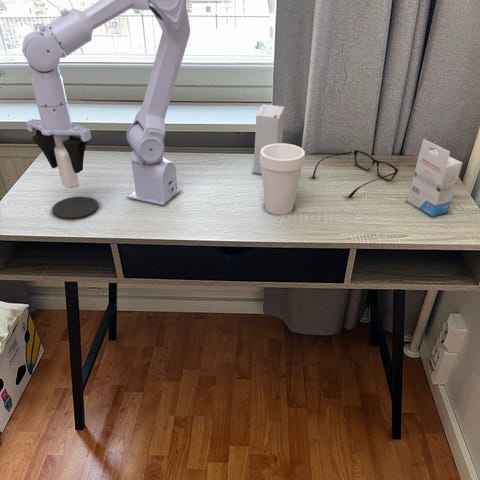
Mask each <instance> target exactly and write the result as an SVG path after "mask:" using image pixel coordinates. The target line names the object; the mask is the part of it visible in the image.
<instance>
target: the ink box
mask: <svg viewBox="0 0 480 480" xmlns="http://www.w3.org/2000/svg"><path fill="white" fill-rule="evenodd" d="M417 156H418V157H417V160H416V165H415V169H414V173H413V178H412V182H411V185H410V191H409V194H408V199H407V202H408V203H410V204H411V205H412V206H414V207H415V208H418V209H419V210H420V211H422V212H424V213H425V214H427V215H428V216H430V217H436V216H441V215H443V214H446V213H449V211H450V208H451V203H452V200H453V198H454V197H453V196H454V193H455V190H456V186H457V182H458V181H459V180H458V179H459V177H460V173H461V169H462V166H463V161H460V160H458V159H456V158H454V157H453V156H451V151H450V150H448V149H445V148H444V147H442V146H440V145H438V144H435V143H433V142H431V141H429V140H427V139H426V138H424V139H423V140H422V142H421V146H420V150H419V153H418V155H417Z"/></svg>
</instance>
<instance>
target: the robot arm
mask: <svg viewBox="0 0 480 480" xmlns="http://www.w3.org/2000/svg"><path fill="white" fill-rule="evenodd" d="M187 2H188V0H98V1H96V2H95V3H93V4H91V5H90V6H89V7H88V8H86V9H85V10H79V9H77V8H71V9H69V10H68V9H67V8H65V7H64V8H63V9H62V10H60V11H59V13H60V16H59V17H57V18H55V19H54V20H52V21H51V22H49V23H48V24H46V25H44V24H43V23H42V24H40V25H38V29H39V31H31V32H29V33H27V34H26V35H25V36H24V38H23V41H22V49H21V51H22V53H23V56H24V57H25V59H26V61H27V63H28V72H29V75H30V76H31V77H30V81H31V86H32V90H33V94H34V97H35V102H36V106H37V111H38V114H39V117H40V119H36V118H35V119H34V118H31V119H29V120H27V121H26V122H25V124H26V128H27V131H28V132H30V133H33V132H35V135H33V136H32V141H33V142H34V143H35V144H36V145H37V146H38V148H39V149H40V150H41V151H42V153H43V155H44V156H45V158H46V160H47V162H48V163H49V165H50V168H51V169H56V168H58V165H57V161H56V157H55V152H54V148H55V146H56V144H55V140H54V135H62V136H66V138H67V140H66V141H64V142H63V145H64V147H65V148H66V150H67V152H68V154H69V157H70V160H71V163H72V167H73V170H74V172H75V173H77V174H79V173H80V172H83V171H84V158H85V151H86V148H87V145H88V143H89V141H90V140H91V139H92V134H91V129H90V128H88V127H84V126H81V125H79V124H77V123H75V122H72V118H71V113H70V108H69V103H68V100H67V99H68V98H67V95H66V90H65V83H64V80H63V75H61V72H60V67H59V64H60V61H61V59H62V58H66V57H67V56H69V55H71V54H72V53H74V52H75V51H77V50H79V49H80V48H82V47H83V46H85V45H87V44H88V43H90V42H92V41H93V37H94V32H95V30H96V29H98V28H99V27H101V26H103V25H104V24H106V23H108V22H109V21H111V20H113V19H115V18H117V17H119V16H120V15H122V14H124V13H125V12H127V11H129V10H131V9H132V10H141V11H151V12H152V13H153V15H154V17H155V19H156V21H157V23H158V26H159V27H160V29H161V36H160V40H159V43H158V46H157V50H156V54H155V58H154V61H153V64H152V69H151V72H150V76H149V79H148V83H147V87H146V90H145V94H144V98H143V101H142V105H141V109H140V110H139V111H138V112H137V113H136V114H135V117H134V120H133V122H132V123H131V125H129V127H128V129H127V130H126V142H127V143H128V145H129V146H130V147H131V148H132V152H131V155H130V163H131V168H132V169H131V170H132V175H133V176H132V177H133V183H134V191H132V192H131V193H130V194H128V198H129V199H132V200H136V201H141V202H145V203H150V204H155V205H160V206H164V205H165V204H167V203H168V202H169V201H170V200H171V199H173V197H175V196H176V195H177V194H178V193H179V192H180V190H179V188H178V180H177V169H176V165H175V163H174V162H173V161H170V160H168V159H166V158H165V157H164V153H165V137H166V124H165V119H166V115H167V111H168V108H169V106H170V102H171V99H172V96H173V92H174V89H175V86H176V82H177V79H178V75H179V72H180V69H181V65H182V62H183V59H184V55H185V52H186V49H187V45H188V42H189V39H190V35H191V25H190V19H189V11H188V7H187Z"/></svg>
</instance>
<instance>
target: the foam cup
mask: <svg viewBox="0 0 480 480" xmlns="http://www.w3.org/2000/svg"><path fill="white" fill-rule="evenodd" d="M305 154H306V151H305V150H304V149H303V148H302V147H301V146H298V145H296V144H291V143H287V142H286V143H285V142H282V143H280V144H271V145H267V146H265V147H263V148H262V149H261V151H260V164H261V171H262V174H261V180H262V189H263V190H262V192H263V198H264V199H263V200H264V208H265V210H266V211H267V213H268V212H269V213H270V214H273V215H274V214H275V215H286V214H289V213H291V212H292V211H293V209H294V205H295V200H296V196H297V191H298V187H299V182H300V178H301V173H302V169H303V167H304V164H305V158H306V157H305Z"/></svg>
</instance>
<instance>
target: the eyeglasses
mask: <svg viewBox="0 0 480 480" xmlns="http://www.w3.org/2000/svg"><path fill="white" fill-rule="evenodd" d="M352 153H353V154H354V164H355V166H357V167H358V168H360V169H362V170H365V171H370V170H371V169H372V168H373V166H374V165H375V164H376V167H375V171H376V173H377V176H379V177H378V178H375V179H372V180H371V181H368V182H366V183H364V184H362V185H359V186H358V187H357V188H355V189H354V190H353V191H352V192H351V193H350V194H349V195H348V196H347V198H348V199H351V198H352V197H354V195H355V194H356V192H357V191H358V190H359V189H361V188H362V187H364V186H366V185H368V184H370V183H372V182H376V181H378V180H381V179H383V180H386V181H389V182H391V181H393V180H394V178H395V176H396V175H397V174H399V173H400V171H399V169H398V168H397V167H396V166H395V165H392V164H391V163H389V162H386V161H381V160H377V159H375V158H374V157H372V156H371V155H370V154H368V153H366V152H364V151H362V150H356V149H355V150H351V151H348V152H343V153H338V154H333V155H329V156H326V157H324V158H322V159H321V160H319V161H318V162H317V164H316V165H315V168H314V169H313V172H312V177H311V178H312V179H315V176H316V171H317V169H318V166H319V164H320V163H321V162H322V161H324V160H325V159H328V158H332V157H338V156H343V155H348V154H352ZM358 154H363V155H364V156H367V157H368V158H370V159H371V161H372V163H371V165H370V166H369V168H364V167H362V166H360V165H359V164H358V162H357V161H358V160H357V155H358ZM380 164H384V165H387V166H389V167H390V168H392V169H393V170H394V172H392V173H389V174H387V175H384V176H382V175H381V174H380V171H379V165H380ZM390 176H392V177H391V178H390V179H388V178H387V177H390Z"/></svg>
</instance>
